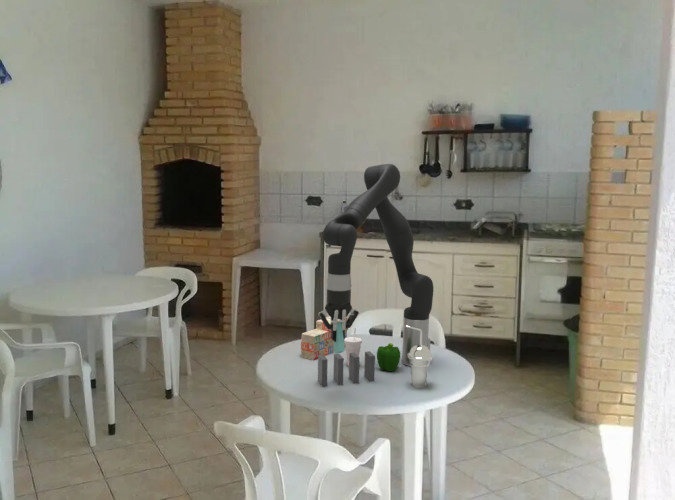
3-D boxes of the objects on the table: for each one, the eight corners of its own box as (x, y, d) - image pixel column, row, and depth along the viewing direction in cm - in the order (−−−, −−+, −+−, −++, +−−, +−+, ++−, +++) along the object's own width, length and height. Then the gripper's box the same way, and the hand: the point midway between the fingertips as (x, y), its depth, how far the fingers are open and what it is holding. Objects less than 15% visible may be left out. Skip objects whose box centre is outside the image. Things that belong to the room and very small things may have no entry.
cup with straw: (421, 391, 207) (424, 331, 204) (399, 384, 213) (401, 326, 210) (436, 385, 213) (439, 326, 210) (414, 378, 219) (416, 321, 216)
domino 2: (340, 353, 203) (337, 325, 206) (344, 350, 199) (341, 322, 201) (334, 353, 203) (331, 325, 205) (339, 351, 198) (336, 322, 201)
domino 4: (353, 377, 218) (354, 352, 217) (358, 383, 214) (359, 357, 212) (348, 378, 218) (349, 352, 216) (353, 383, 213) (354, 357, 212)
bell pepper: (376, 365, 232) (376, 338, 231) (398, 365, 232) (399, 339, 230) (376, 372, 224) (377, 345, 222) (400, 373, 224) (401, 346, 222)
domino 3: (338, 379, 217) (339, 353, 215) (343, 384, 212) (343, 358, 211) (333, 379, 216) (333, 354, 215) (337, 385, 212) (338, 358, 210)
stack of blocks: (313, 360, 236) (314, 328, 234) (300, 357, 239) (301, 325, 237) (346, 347, 253) (347, 316, 251) (333, 344, 257) (334, 314, 255)
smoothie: (359, 368, 228) (360, 330, 225) (341, 367, 229) (342, 329, 227) (362, 363, 234) (363, 326, 232) (345, 361, 235) (346, 324, 233)
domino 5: (369, 376, 220) (369, 351, 219) (374, 381, 215) (375, 355, 214) (364, 377, 219) (364, 351, 218) (369, 382, 215) (369, 356, 213)
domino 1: (322, 380, 215) (323, 354, 214) (327, 385, 210) (327, 359, 209) (317, 381, 215) (318, 355, 213) (321, 386, 210) (322, 360, 209)
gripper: (355, 284, 205) (354, 336, 208) (314, 285, 201) (313, 339, 204) (363, 288, 198) (362, 343, 201) (321, 290, 194) (320, 346, 197)
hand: (337, 340), depth 202 cm, fingers closed on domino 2, 1 cm apart
